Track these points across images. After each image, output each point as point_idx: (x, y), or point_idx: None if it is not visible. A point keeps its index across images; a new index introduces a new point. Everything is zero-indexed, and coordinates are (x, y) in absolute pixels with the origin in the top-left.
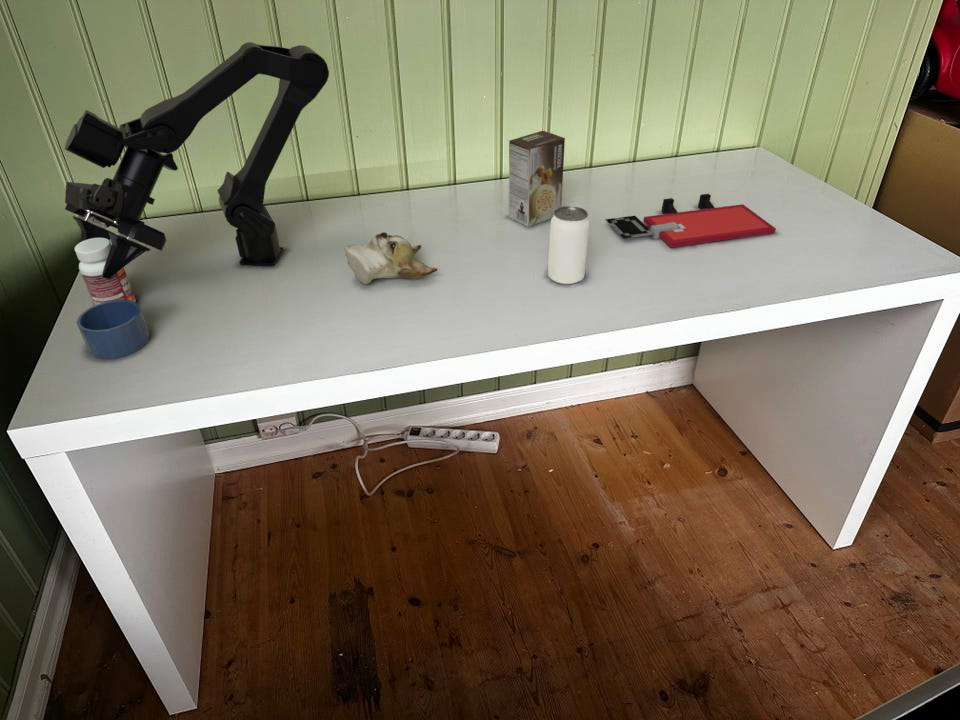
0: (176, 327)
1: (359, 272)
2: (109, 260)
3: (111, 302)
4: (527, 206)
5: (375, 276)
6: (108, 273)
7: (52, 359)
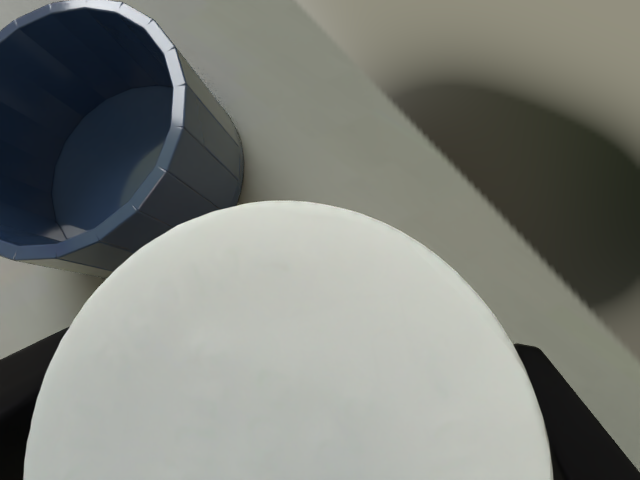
0: (16, 339)
1: None
2: (27, 350)
3: (123, 206)
4: None
5: None
6: None
7: (285, 11)
